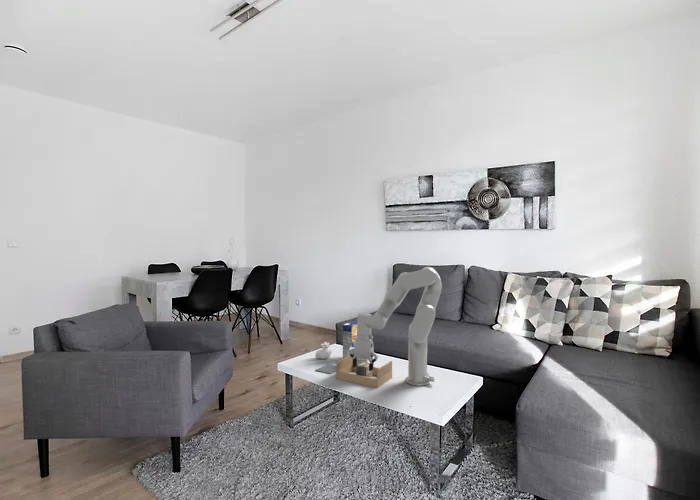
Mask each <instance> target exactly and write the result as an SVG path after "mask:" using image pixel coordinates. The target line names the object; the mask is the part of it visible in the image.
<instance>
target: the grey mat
mask: <svg viewBox="0 0 700 500" xmlns="http://www.w3.org/2000/svg"><path fill="white" fill-rule="evenodd" d="M318 371H319V373H323V372H324V373H325V374H328V375H331V374H333V373H335V372H336V365H333V364H328V363H327V364H324V365H322V366H321V367H319V368H317V369H315V372H318Z"/></svg>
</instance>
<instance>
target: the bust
mask: <svg viewBox="0 0 700 500" xmlns="http://www.w3.org/2000/svg"><path fill="white" fill-rule="evenodd" d="M320 345H321V347H322V348H321V349H318V350H317V351H316V352H315V359H317V360H318V359H321V360H327V359H329V358H330V357H331V355H332V353H333V349H332V348H331V347H330V342H327V341H324V343H321V344H320Z"/></svg>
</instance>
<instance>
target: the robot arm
mask: <svg viewBox="0 0 700 500" xmlns="http://www.w3.org/2000/svg"><path fill="white" fill-rule="evenodd" d="M419 288H420V289H421V288H424V290H423V292H422V296H421V298H420V301H419V303H418V305H417V307H416V308H415V309H416V312H415V313H414V314H415V315H414V316H413V320H412V322H411V323H409V326H408V332H407V333H408V334H407V335H408V352H407V353H408V355H407V356H408V357H407V358H408V359H407V360H408V362H407V364H408V367H407V368H408V370H407V371H408V373H407V376H406V377H405V379H404V380H405V383H406V384H409V385H412V386H418V387H421V386H422V387H423V386H427V385H429V384H430V383H431V382H432V383H434V382H435V377H434V376H430V375H429V372H428V336H429V335H430V332H431V330H432V326H433V324H434V321H435V319H436V309H437V305H438V303H439V300H440V298H441V294H442V289H443V283H442V279H441V277H440V274H439V273H438V271H436V270H435V269H434V268H433V267H431V266H426V267H423V268H422V269H419V270H415V271H410V272H409V271H407V272H405V271H404V272H401V273H400V274H399V276H398V277H397V279H396V280H395V281H394V283H393V284H392V286H391V288H390V289H389V291H388V292H387V294H386V295H385V297H384V299H383V301H382V303H381V304H380V306H379V308H378V309H377V310H376V312H375V313H374V315H373V314H371V313H369V312H360V313H358V314H357V338H356V340H355V345H354V349H351V350H349V353H350V356H351V357H352V360H353V367H356V366H357V359H356V358H357V357H358V358H363V359H368V363H370V364H369V371H372V370H373V367H374V363H375V362H377V360H378V359H379V355H378V354H377V353H376V352H375V351H374V341H373V338H374V336H373V335H372V329H374V330H383V329H384V328H385V326H386V325H387V324H386V323H387V322H388V321H389V319H390V317H391V316H392V314H393V313H394V311H395V310H396V309H397V307H400V305H401V304H402V302H403V300H404V299H405V297H406V296H407V294H408V293H409V292H410V291H411V290H415V289H419ZM353 351H354V354H353Z"/></svg>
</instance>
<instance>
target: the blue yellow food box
mask: <svg viewBox="0 0 700 500" xmlns="http://www.w3.org/2000/svg"><path fill="white" fill-rule="evenodd" d="M356 338H357V322H356V321H351V322H347V323H344V324H342V359H343V358H345V357H347V356H349V349H350V347H354V345H355V340H356Z"/></svg>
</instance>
